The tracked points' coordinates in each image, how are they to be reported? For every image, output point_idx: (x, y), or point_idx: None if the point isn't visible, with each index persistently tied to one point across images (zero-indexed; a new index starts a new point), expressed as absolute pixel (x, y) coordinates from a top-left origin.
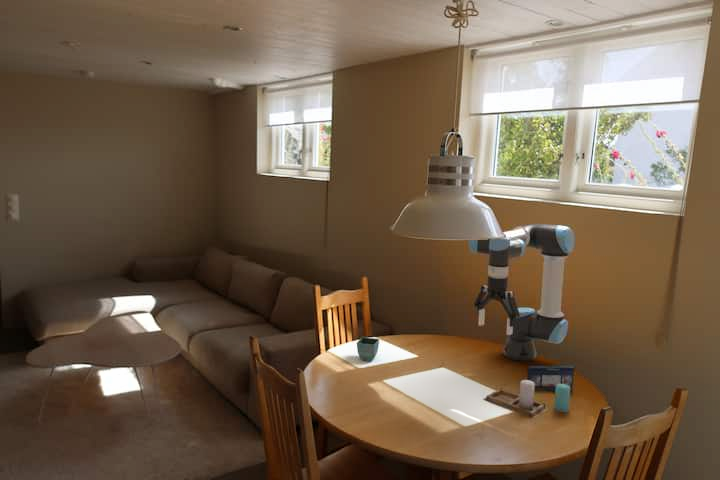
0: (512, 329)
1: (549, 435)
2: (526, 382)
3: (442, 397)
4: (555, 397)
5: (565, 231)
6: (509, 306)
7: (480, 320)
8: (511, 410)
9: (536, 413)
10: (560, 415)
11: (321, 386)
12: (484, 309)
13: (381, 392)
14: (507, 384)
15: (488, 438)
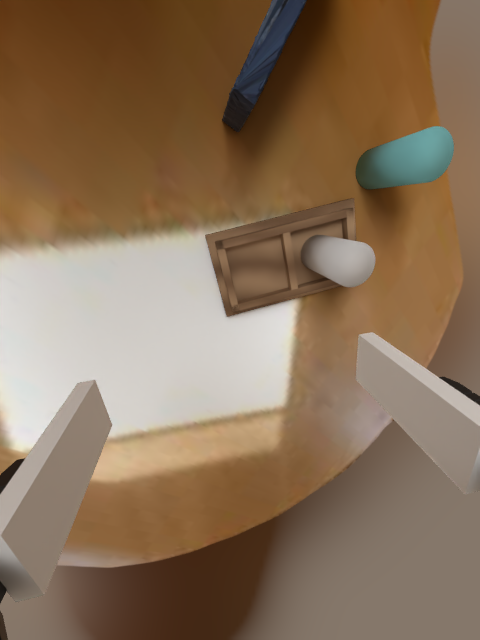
0: (394, 350)
1: (404, 293)
2: (350, 267)
3: (161, 380)
4: (387, 182)
5: None
6: None
7: (96, 458)
8: (304, 294)
9: None
10: (381, 191)
11: None
12: (9, 537)
13: None
14: (168, 158)
15: (337, 395)
